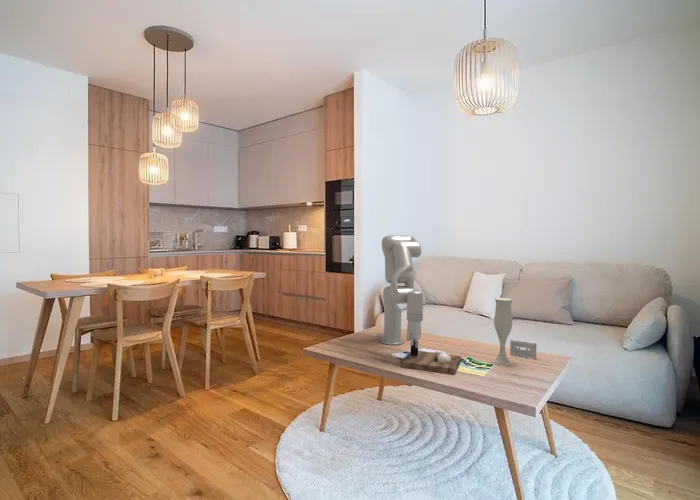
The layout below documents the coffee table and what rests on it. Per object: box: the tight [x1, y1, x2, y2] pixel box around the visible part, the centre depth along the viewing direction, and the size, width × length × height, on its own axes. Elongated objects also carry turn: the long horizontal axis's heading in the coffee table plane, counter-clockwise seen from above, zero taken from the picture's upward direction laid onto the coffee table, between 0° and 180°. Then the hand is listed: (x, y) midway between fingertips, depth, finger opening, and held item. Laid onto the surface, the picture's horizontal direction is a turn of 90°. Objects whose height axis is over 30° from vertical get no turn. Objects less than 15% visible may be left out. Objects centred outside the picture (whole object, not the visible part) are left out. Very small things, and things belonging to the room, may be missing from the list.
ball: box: [438, 352, 451, 363], centre depth 180 cm, size 6×6×6 cm
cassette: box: [509, 339, 538, 360], centre depth 195 cm, size 12×2×8 cm, turn 56°
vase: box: [492, 297, 513, 366], centre depth 186 cm, size 9×8×30 cm
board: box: [400, 350, 462, 376], centre depth 183 cm, size 24×20×2 cm
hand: (414, 355), depth 187 cm, fingers closed
